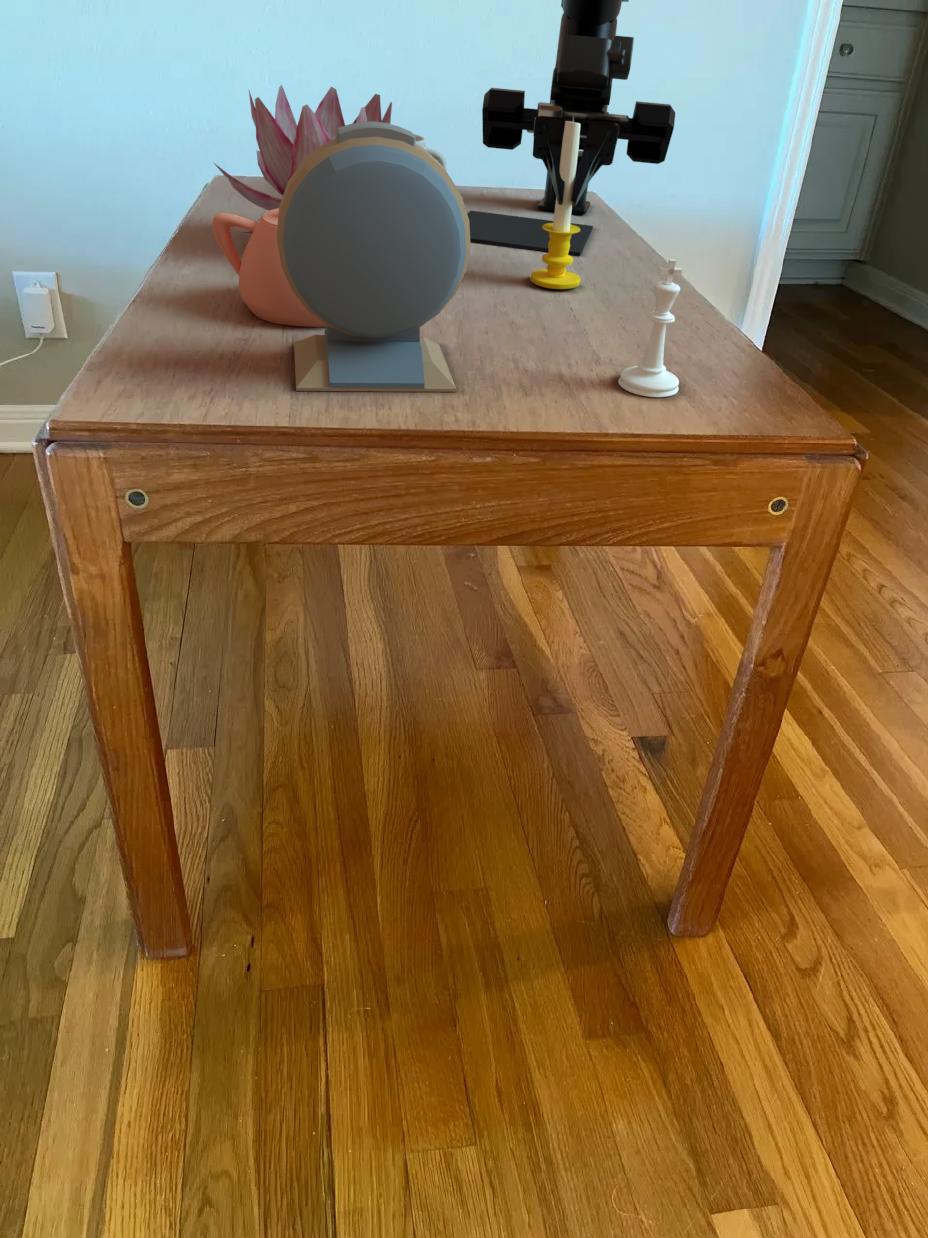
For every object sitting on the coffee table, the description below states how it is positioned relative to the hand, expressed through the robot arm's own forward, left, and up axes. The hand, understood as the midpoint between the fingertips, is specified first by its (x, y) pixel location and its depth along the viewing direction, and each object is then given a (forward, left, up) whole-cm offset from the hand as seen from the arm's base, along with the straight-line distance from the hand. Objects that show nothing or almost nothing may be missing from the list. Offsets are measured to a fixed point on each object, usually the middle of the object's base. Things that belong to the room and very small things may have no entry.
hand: (567, 202), depth 93 cm
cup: (-28, -24, -9) cm, 38 cm away
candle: (-1, 0, -8) cm, 8 cm away
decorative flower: (-2, -26, -9) cm, 28 cm away
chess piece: (+24, +11, -9) cm, 27 cm away
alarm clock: (+29, -11, -9) cm, 32 cm away
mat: (-21, -7, -8) cm, 24 cm away
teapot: (+17, -20, -9) cm, 28 cm away
